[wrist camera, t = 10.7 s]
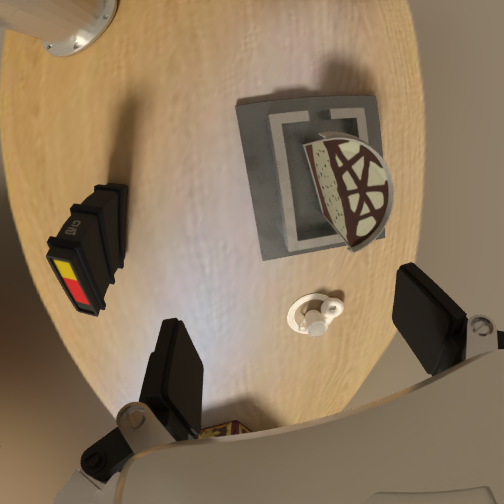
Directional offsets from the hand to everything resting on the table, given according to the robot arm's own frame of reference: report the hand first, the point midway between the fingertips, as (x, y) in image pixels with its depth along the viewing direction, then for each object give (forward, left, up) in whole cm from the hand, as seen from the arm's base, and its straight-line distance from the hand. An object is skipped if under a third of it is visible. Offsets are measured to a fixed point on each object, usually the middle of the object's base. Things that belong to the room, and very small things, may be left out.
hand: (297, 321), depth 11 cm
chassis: (-1, +9, -25) cm, 27 cm away
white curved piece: (+23, +8, -26) cm, 35 cm away
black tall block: (+1, -19, -26) cm, 32 cm away
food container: (-1, +10, -24) cm, 27 cm away
